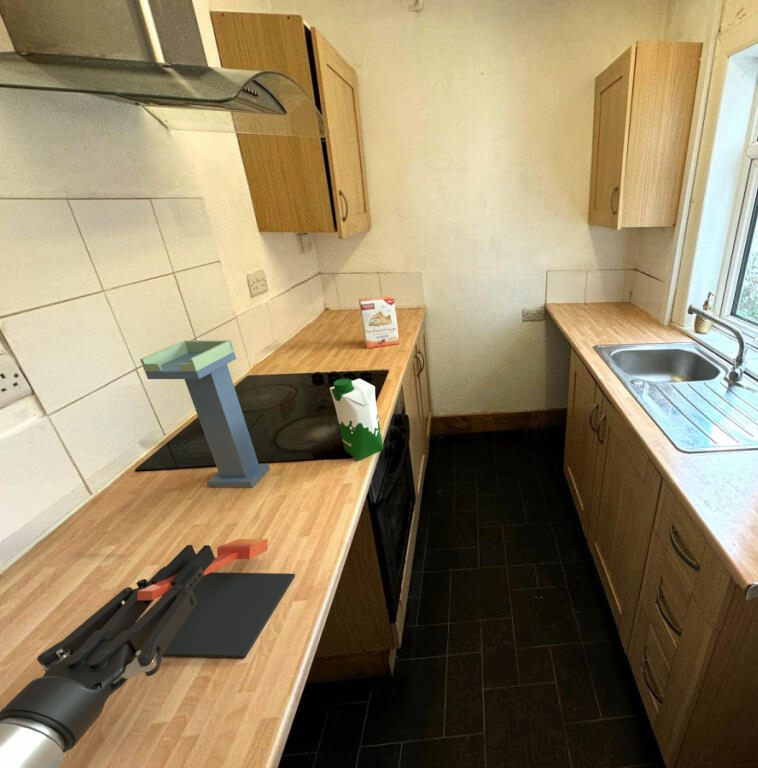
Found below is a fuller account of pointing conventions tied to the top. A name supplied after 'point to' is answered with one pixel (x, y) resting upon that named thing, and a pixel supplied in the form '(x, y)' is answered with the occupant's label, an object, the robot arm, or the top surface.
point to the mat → (228, 614)
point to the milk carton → (357, 417)
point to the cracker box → (379, 321)
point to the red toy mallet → (224, 557)
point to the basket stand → (212, 406)
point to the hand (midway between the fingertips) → (201, 552)
